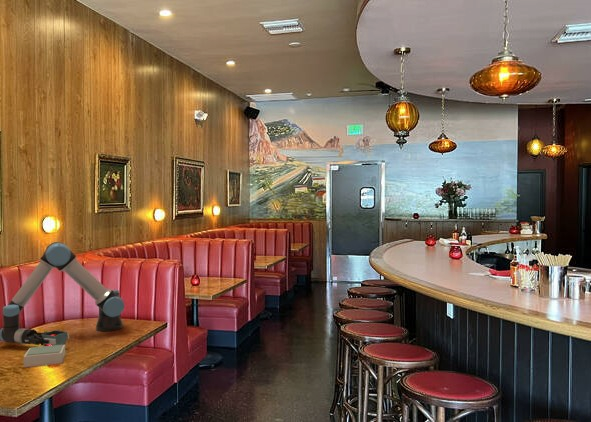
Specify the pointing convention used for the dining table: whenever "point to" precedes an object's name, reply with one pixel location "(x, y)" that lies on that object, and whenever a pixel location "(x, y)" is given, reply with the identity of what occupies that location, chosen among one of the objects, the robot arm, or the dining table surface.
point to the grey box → (44, 355)
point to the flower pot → (56, 337)
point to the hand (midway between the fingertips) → (61, 339)
